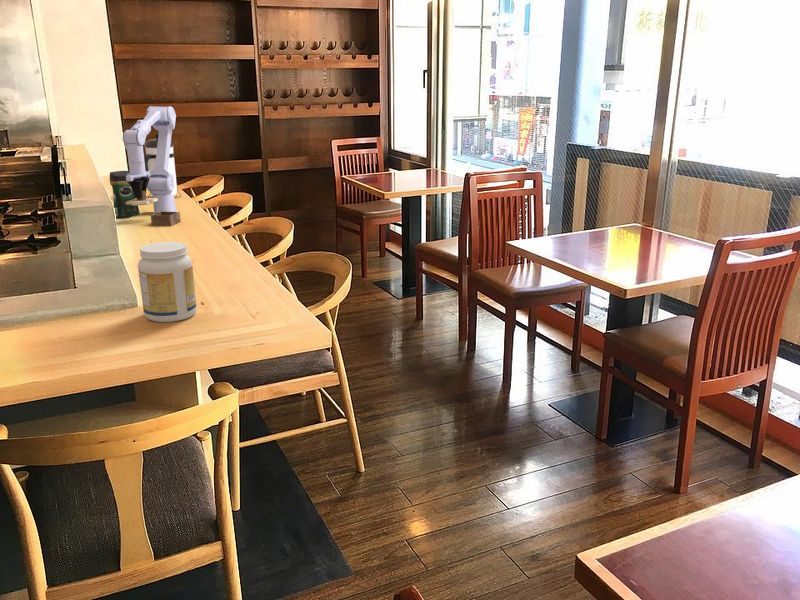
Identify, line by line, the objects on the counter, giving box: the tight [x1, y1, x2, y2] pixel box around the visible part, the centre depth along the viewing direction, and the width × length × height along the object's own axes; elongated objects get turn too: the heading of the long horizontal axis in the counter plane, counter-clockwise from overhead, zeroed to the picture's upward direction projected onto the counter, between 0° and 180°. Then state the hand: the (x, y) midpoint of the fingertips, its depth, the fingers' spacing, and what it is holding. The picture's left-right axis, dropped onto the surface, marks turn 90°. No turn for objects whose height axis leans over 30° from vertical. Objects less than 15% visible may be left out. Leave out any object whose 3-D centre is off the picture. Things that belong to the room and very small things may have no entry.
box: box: [150, 211, 182, 227], centre depth 261 cm, size 8×8×4 cm
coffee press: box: [143, 132, 182, 198], centre depth 315 cm, size 17×16×30 cm
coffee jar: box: [109, 170, 140, 219], centre depth 275 cm, size 10×8×19 cm
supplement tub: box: [137, 241, 198, 323], centre depth 160 cm, size 12×12×17 cm
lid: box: [125, 190, 158, 206], centre depth 263 cm, size 9×9×5 cm
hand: (140, 197), depth 263 cm, fingers closed on lid, 3 cm apart
